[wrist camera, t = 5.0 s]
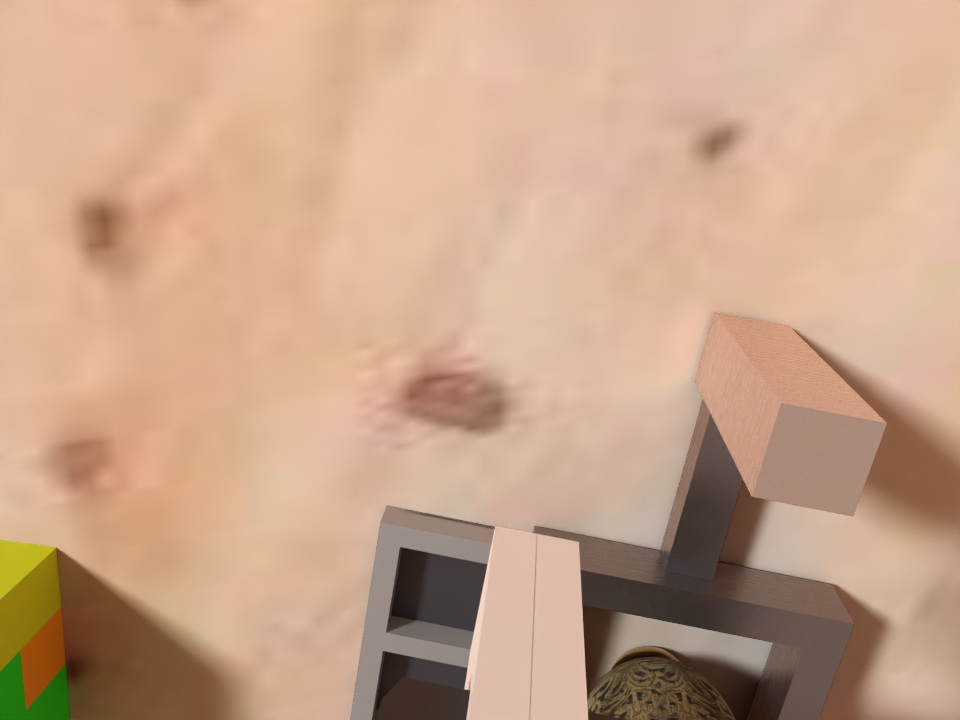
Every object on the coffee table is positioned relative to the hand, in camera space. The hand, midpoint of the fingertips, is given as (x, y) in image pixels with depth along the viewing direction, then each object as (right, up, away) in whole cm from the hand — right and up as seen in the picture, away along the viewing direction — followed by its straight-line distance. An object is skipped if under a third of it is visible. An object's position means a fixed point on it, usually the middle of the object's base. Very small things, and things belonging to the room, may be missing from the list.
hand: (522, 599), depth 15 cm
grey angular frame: (+8, -5, +22) cm, 24 cm away
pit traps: (-3, -8, +24) cm, 26 cm away
